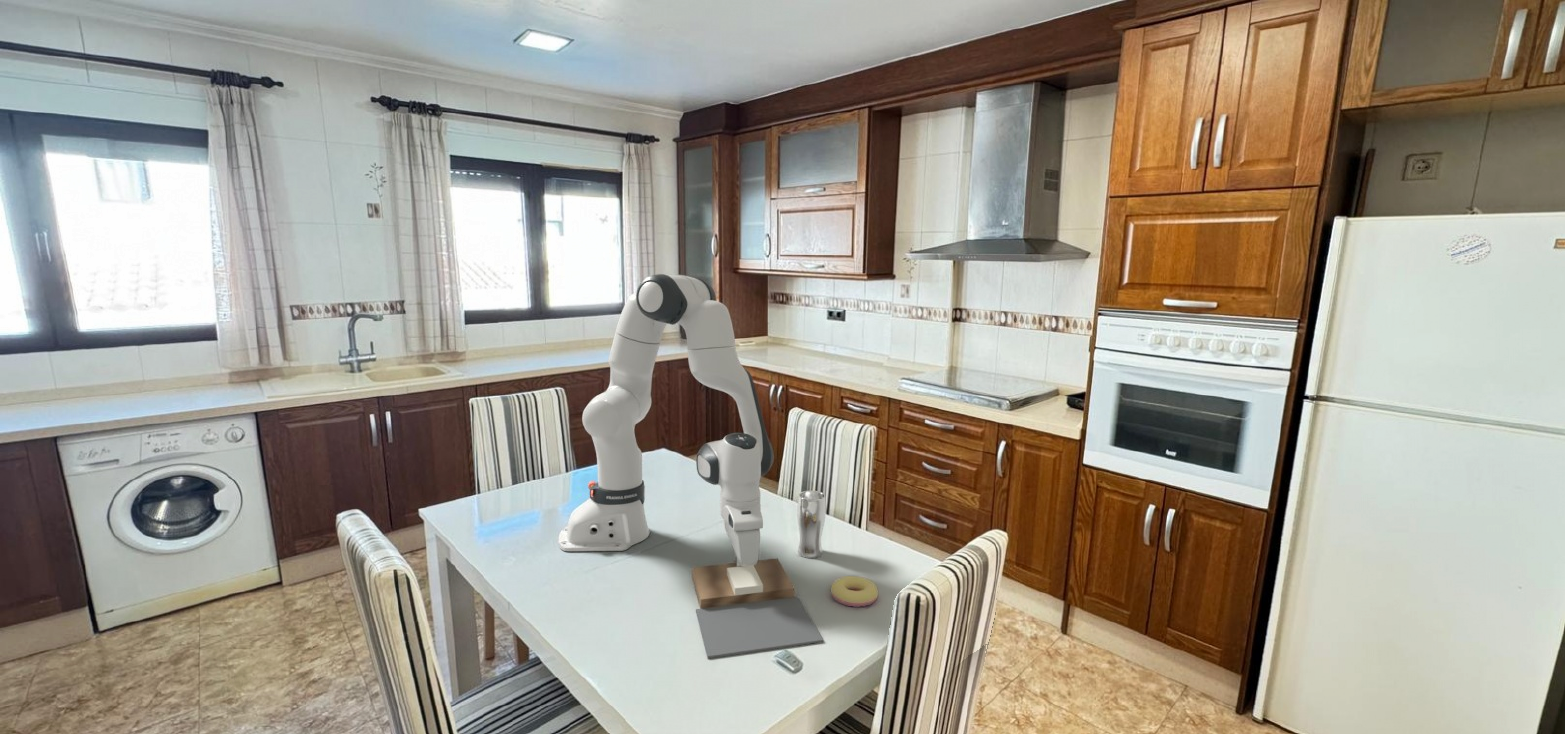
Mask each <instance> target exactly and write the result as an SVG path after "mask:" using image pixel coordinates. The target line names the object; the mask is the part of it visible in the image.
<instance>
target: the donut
mask: <svg viewBox="0 0 1565 734" xmlns="http://www.w3.org/2000/svg"><path fill="white" fill-rule="evenodd" d="M830 592H831V593H830V594H831V595H832V597H833V598H834V600H836V602H838V603H840V604H841V605H844V606H848V607H851V606H853V608H861V607H860V606H864V607H868V606H871V604H874V603H875V601H876V600H877V599H878V596H879V591H878V588H877V586H876V584H875V583H874V582H872V581H871V580H869V579H867V578H866V577H862V576H854V575H852V576H851V575H849V576H843V577H840V578H838V579H836V580H835V581H834V582H832V585H831V588H830ZM867 605H868V606H867Z"/></svg>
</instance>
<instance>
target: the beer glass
mask: <svg viewBox="0 0 1565 734" xmlns="http://www.w3.org/2000/svg"><path fill="white" fill-rule="evenodd" d="M797 498H798V501H797V510H796V512H797V513H796V514H797V515H796V517H797V525H798V531H799V544H798V549H797V553H798V555H799V556H800V557H802V558H805V557H806V558H807V559H815V558H816V557H817V558H819V557H821V556H822V555H823V548H822V535H823V531H824V526H825V521H826V514H827V513H826V511H827V507H826V506H827V505H826V504H827V503H826V502H827V501H826V494H825V493H823V492H822V491H819V490H804V491H801V492H799V493H798V497H797ZM817 558H816V559H817Z"/></svg>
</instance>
